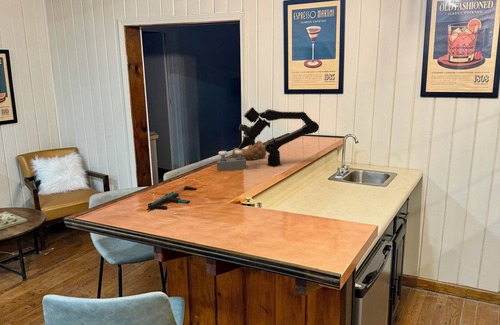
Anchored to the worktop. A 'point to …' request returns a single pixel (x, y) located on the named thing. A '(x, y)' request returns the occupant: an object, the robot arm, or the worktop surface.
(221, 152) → the knob
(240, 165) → the knob mount
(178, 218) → the worktop surface
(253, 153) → the brown rough lump
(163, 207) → the gun
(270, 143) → the robot arm
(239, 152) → the knob
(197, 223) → the worktop surface
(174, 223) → the worktop surface
